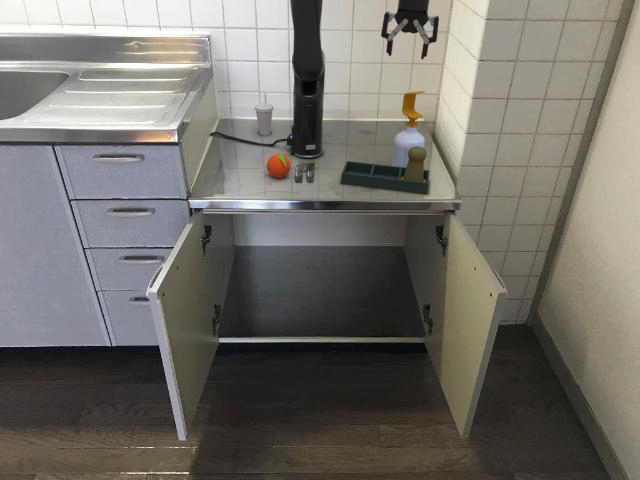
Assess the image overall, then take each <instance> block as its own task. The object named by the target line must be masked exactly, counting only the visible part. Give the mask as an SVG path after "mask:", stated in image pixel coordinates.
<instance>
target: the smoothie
mask: <svg viewBox="0 0 640 480" xmlns="http://www.w3.org/2000/svg"><path fill="white" fill-rule="evenodd" d="M274 109H275V108H274V105H273V104H272V103H268V102H267V93H266V92H265V93H264V102H261V103H257V104H255V105H254V110H255V114H256V121H257V126H258V132H259V135H260V136H269V135H270V134H271V129H272V121H273V120H272V119H273V111H274Z"/></svg>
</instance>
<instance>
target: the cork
mask: <svg viewBox="0 0 640 480" xmlns="http://www.w3.org/2000/svg"><path fill="white" fill-rule="evenodd" d="M427 155H428V152H427V149H426V148H425V147H424V148H423V147H420V146H414V147H411V148H410V149H409V151H408V157H409V161H408V164H407V168H406V171H405V175H404V178H403V180H411V181H419V182H423V176H424V170H425V167H424V166H425V165H424V164H425V160H426V158H427Z"/></svg>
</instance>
